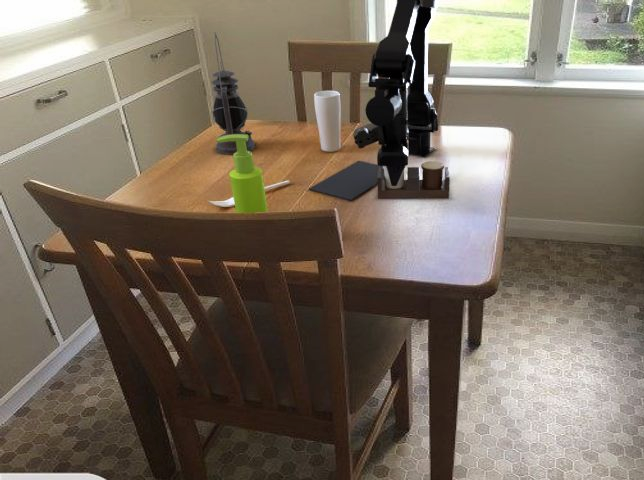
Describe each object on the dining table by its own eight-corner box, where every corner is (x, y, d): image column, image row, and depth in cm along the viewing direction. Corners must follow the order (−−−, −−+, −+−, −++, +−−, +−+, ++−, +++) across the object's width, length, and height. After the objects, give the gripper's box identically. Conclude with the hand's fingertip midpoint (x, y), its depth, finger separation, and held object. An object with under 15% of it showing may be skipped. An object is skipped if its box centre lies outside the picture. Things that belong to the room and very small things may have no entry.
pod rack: (379, 187, 123) (378, 167, 120) (447, 187, 122) (448, 167, 120) (377, 198, 118) (377, 177, 115) (448, 198, 117) (449, 177, 114)
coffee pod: (390, 178, 122) (390, 159, 120) (409, 183, 120) (409, 163, 117) (378, 186, 118) (378, 166, 116) (398, 191, 116) (397, 170, 114)
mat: (358, 162, 137) (358, 160, 137) (398, 170, 131) (398, 169, 131) (308, 190, 123) (308, 188, 122) (351, 201, 117) (351, 199, 117)
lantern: (254, 154, 143) (235, 35, 128) (213, 157, 142) (190, 37, 127) (256, 139, 154) (239, 27, 138) (218, 141, 153) (197, 29, 137)
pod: (427, 178, 122) (428, 159, 119) (447, 183, 119) (448, 163, 117) (416, 186, 118) (417, 166, 116) (436, 191, 116) (437, 170, 113)
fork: (293, 185, 125) (293, 178, 124) (214, 212, 114) (213, 204, 113) (286, 181, 127) (285, 174, 126) (208, 207, 116) (206, 199, 115)
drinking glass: (339, 154, 142) (335, 97, 134) (315, 153, 143) (310, 96, 135) (346, 145, 148) (342, 90, 140) (322, 144, 149) (318, 89, 141)
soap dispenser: (237, 228, 107) (219, 131, 97) (272, 226, 108) (258, 129, 97) (233, 242, 102) (213, 142, 92) (269, 240, 103) (254, 140, 92)
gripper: (358, 99, 119) (361, 165, 127) (350, 126, 103) (354, 199, 111) (408, 99, 118) (408, 165, 126) (408, 125, 102) (407, 199, 111)
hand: (394, 181), depth 119 cm, fingers closed on coffee pod, 4 cm apart
